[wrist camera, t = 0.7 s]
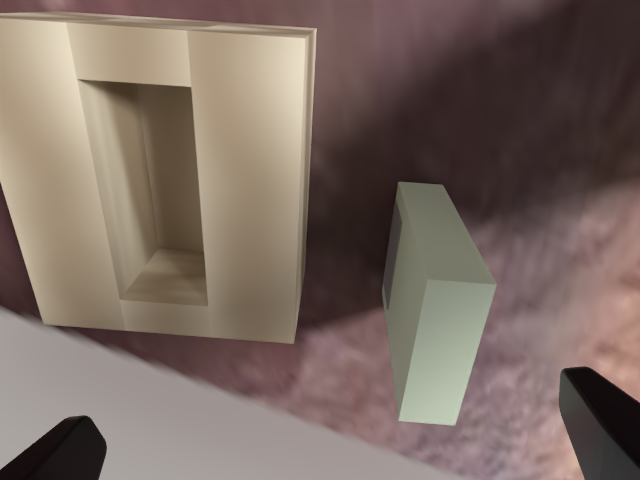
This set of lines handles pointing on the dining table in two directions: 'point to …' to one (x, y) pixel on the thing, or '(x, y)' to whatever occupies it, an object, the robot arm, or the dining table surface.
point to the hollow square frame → (159, 170)
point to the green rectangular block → (432, 303)
